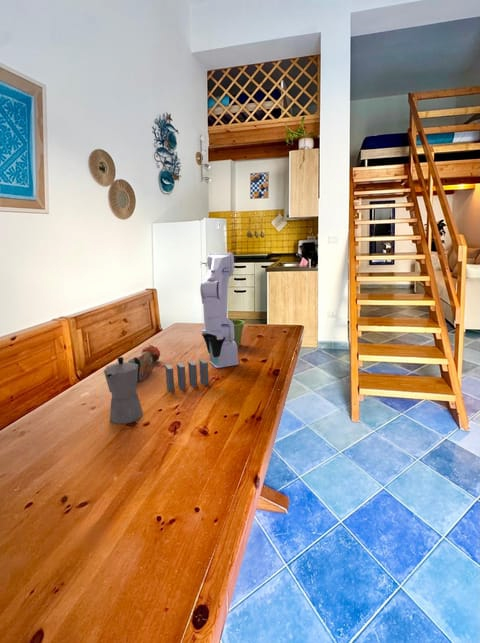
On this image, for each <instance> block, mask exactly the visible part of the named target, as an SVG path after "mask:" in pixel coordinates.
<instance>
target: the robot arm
mask: <svg viewBox="0 0 480 643" xmlns="http://www.w3.org/2000/svg"><path fill="white" fill-rule="evenodd" d="M234 256H235V255H234V253H233V252H231V251H230V252H209V253H208V255H207V259H206V261H207V267H208V269H209V270H208V271H207V272H206V276H205V279H204V281H203V282H201V283H200V286H199V287H200V288H199V290H200V291H199V292H200V297H201V303H202V305H203V306H202V307H203V329H201V331H200V332H201V336H202V338H203V340H204V342H205V345H206V348H207V352H208V354H210V349H209V342H210V344H211V348H212V354H213V357H218V358H219V364H217V365H214V364H213V363H212V362H211V361H210V360H209V363H210V364H211V365H212V366H213V367H214V368H215V369H220V368H226V367H232V366H238V365H239V364H240V363H239V353H238V351H239V349H238V347H237V344H236V342H235V341H233V340H234V324H233V322H232V321H231V320H232V319H230V318H228V298H229V296H228V294H229V293H228V289H229V288H228V287H229V278H230V277H231V276H232V277H233V275H234V272H235V271H234V270H235V257H234Z"/></svg>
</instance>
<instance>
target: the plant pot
mask: <svg viewBox="0 0 480 643" xmlns="http://www.w3.org/2000/svg"><path fill="white" fill-rule="evenodd" d="M230 320H231V321H232V322H233V324H234V340H233V341H235V342H236V344H237V348H238V347H240V346H241V345H242V336H243V328H244V324H245V323H246V322H245V321H244V320H242V319H230Z"/></svg>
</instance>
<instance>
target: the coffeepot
mask: <svg viewBox="0 0 480 643" xmlns="http://www.w3.org/2000/svg"><path fill="white" fill-rule="evenodd" d="M139 370H140V361H139V360H138V358H134V357H133V358H132V359H128V360H127V362H124V357H122V356H120V357H117V363H114V364H110V365H107V366H106V367H105V369H104V370H103V373H104V377H105V380H106V384H107V387H108V391H109V393H111V400H110V413H109V414H110V415H109V421H111V422H112V423H114V424H117V425H126V424H130V423H135V422H136V421H138V420H140V418H142V416H143V412H144V411H143V408H142V405H141V401H140V397H139V394H138V392H137V389H138V385H139Z"/></svg>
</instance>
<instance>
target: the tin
mask: <svg viewBox="0 0 480 643" xmlns="http://www.w3.org/2000/svg"><path fill="white" fill-rule="evenodd" d="M133 358H138V360H139V361H140V370H139V380H138V382H139V381H143V380H144V379H145V378H146V377H147V376H148V375H150V373H152V371H153V369H154V362H153V356H152V354H151V352H149V351H147V352H142V351H141V352H140V353H138V354H137V355H135V357H133Z"/></svg>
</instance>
